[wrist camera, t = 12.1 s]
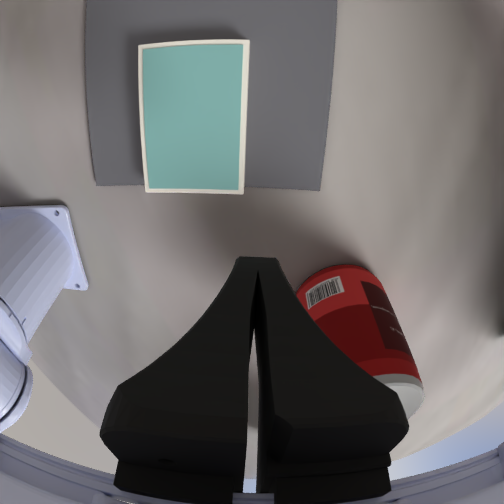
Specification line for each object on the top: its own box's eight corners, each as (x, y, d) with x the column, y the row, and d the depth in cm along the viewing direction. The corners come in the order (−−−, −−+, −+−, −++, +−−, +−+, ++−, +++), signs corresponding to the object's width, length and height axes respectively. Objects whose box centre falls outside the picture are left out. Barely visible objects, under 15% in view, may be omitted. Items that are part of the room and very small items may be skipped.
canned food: (277, 325, 27) (282, 442, 18) (311, 249, 23) (340, 378, 14) (354, 338, 28) (379, 443, 19) (397, 272, 24) (449, 383, 15)
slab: (243, 195, 19) (145, 193, 19) (244, 185, 20) (152, 184, 20) (249, 39, 14) (137, 45, 14) (250, 41, 15) (146, 46, 15)
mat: (98, 183, 20) (96, 185, 20) (90, -11, 12) (87, -12, 12) (318, 188, 20) (319, 191, 20) (336, -22, 13) (338, -24, 12)
